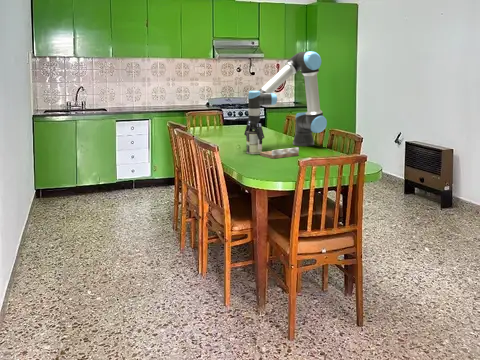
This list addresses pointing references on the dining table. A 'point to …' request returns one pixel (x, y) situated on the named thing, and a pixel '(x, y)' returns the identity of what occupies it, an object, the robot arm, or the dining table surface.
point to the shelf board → (281, 153)
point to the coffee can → (252, 142)
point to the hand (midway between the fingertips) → (254, 147)
